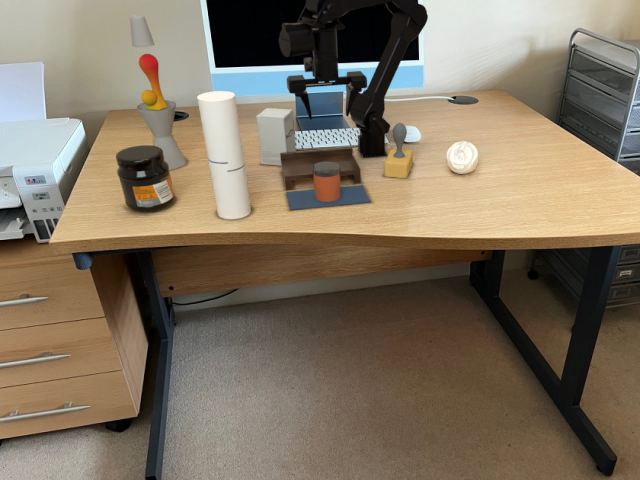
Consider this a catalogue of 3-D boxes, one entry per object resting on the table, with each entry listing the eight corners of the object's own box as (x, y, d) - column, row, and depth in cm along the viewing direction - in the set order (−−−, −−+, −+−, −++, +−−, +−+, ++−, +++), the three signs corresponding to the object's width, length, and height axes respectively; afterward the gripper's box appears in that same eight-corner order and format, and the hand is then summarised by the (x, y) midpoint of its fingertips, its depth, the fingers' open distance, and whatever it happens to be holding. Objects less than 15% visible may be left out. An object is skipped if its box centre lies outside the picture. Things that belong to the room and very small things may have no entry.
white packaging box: (288, 166, 148) (283, 117, 141) (260, 164, 149) (254, 115, 142) (297, 156, 154) (293, 108, 147) (271, 154, 155) (265, 106, 148)
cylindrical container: (220, 205, 129) (200, 91, 115) (252, 204, 130) (237, 90, 116) (215, 219, 123) (194, 101, 109) (249, 218, 124) (232, 100, 110)
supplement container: (176, 211, 126) (164, 159, 120) (125, 217, 124) (110, 164, 117) (176, 191, 135) (165, 142, 128) (128, 197, 132) (115, 146, 126)
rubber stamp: (406, 178, 142) (408, 130, 135) (383, 176, 143) (384, 129, 136) (412, 163, 150) (414, 117, 143) (390, 161, 151) (391, 116, 144)
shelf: (352, 166, 148) (351, 147, 145) (360, 183, 139) (360, 163, 136) (281, 172, 145) (279, 152, 142) (285, 190, 136) (283, 169, 133)
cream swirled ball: (441, 175, 143) (443, 145, 139) (450, 164, 149) (452, 135, 145) (473, 180, 141) (476, 150, 137) (480, 169, 147) (483, 139, 142)
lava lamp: (172, 154, 154) (141, 11, 135) (194, 162, 150) (166, 15, 130) (143, 165, 148) (107, 16, 129) (165, 173, 144) (131, 20, 124)
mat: (362, 186, 138) (362, 185, 138) (370, 202, 130) (370, 201, 130) (286, 193, 134) (286, 191, 134) (290, 210, 127) (290, 208, 127)
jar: (338, 189, 135) (337, 160, 131) (343, 200, 130) (342, 170, 126) (312, 192, 134) (310, 162, 130) (316, 203, 129) (314, 173, 125)
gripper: (356, 41, 143) (358, 105, 152) (281, 46, 139) (287, 110, 148) (367, 51, 134) (368, 118, 143) (286, 56, 130) (292, 124, 139)
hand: (328, 117), depth 143 cm, fingers open, 9 cm apart
